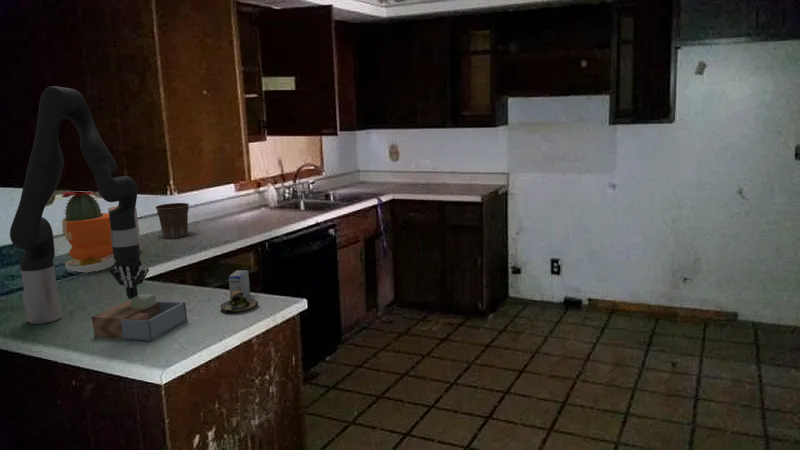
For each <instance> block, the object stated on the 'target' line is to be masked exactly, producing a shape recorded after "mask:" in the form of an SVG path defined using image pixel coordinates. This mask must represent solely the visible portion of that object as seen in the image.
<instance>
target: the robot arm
mask: <svg viewBox="0 0 800 450" xmlns="http://www.w3.org/2000/svg"><path fill="white" fill-rule="evenodd" d="M39 99H40V100H39V105H38V112H37V120H36V121H37V122H36V129H35V135H34V140H33V144H32V149H31V153H30V156H29V161H28V165H27V168H26V175H25V178H24V182H23V183H24V184H23V186H22V190H21V195H20V199H19V200H20V201H19V203H18V207H17V209H16V212H15V215H14V218H13V221H12V223H11V226H10V230H9V238H10V241H11V243H12V244H13V245H14V246H15V247H16V248H17V249H19V250H24V255H23V256H22V258H21V259H20V261H19V266H20V267H19V268H20V273H21V279H22V287H23V292H22V294H21V295H22V302H23V307H24V313H25V320H26V322H28V323H29V324H32V325H42V324H47V323H52V322H55V321H57V320H59V319H61V318H62V311H61V306H60V305H61V303H60V296H59V292H58V285H57V278H56V272H55V263H54V259H55V256H56V255H55V254H56V251H55V249H56V248H55V241H54V233H53V228H52V225H51V223H50V222H49V221H48V219H46V218H45V217H43V214H44V210H45V208H46V206H47V205H48V203H49V201H50V199H51V198H52V196H53V195H54V193H55V191H56V190H57V187H58V186H59V184H60V182H61V181H60V180H61V178H62V173H63V169H64V164H65V160H64V159H65V158H64V155H63V151H62V148H61V145H60V141H59V128H60V124H61V121H62V120H63V119H66V120H68V119H69V121H70V122H71V123H72V124H73V125H74V126H75V128H76V130H77V132H78V136H79V144H80V145H79V146H80V151H81V154H82V157H83V158H84V161H85V162H86V164H87V165H88V167H89V168H90V170H91V171H92V173H93V177H94V180H95V184H96V188H97V190H98V194H99V196H100V197H101V198H102V199H103V200H104V201H105V202H107V203H117V202H118V204H117V206H118V207H117V206H116V207H117V208H116V209H114V210H112V211H111V212H110V213H109V212H108V213H109V219H110V227H111V241H112V249H113V254H112V255H113V259H114V267H113V268H110V269H109V273H110V275H112V277H113V278H114V279H115V281H116V282H117V283H118V284H119V285H120V286H124V287H125V290H126V291H125V292H126V297H127V298H128V300H131V298H133V297H135V296H138V295H139V294H138V289H137V288H138V286H139V285H142V284H143V282H144V281H145V278H146V277H147V276H148V273H149V272H150V270H149V268H146V267H144V266H142V265H143V263H142V262H141V260H140V259H141V252H140V247H139V239H138V233H137V229H136V223H135V216H134V213H135V208H136V207H137V199H138V186H137V183H136V181H135V180H134V179H133V178H132V177H131V176H129V175H128V176H127V175H123V176H115V177H113V176H112V174H113V173H114V172H115V171H117V168H118V165H117V161H116V159H115V158H114V156H113V155H112V153H111V152H110V150H109V149H108V146H106V144H105V142H104V141H103V138H102V137H101V135H100V133H99V130H98V128H97V126H96V123H95V121H94V118H93V117H92V114H91V111H90V109H89V107H88V104H87V102H86V100H85V98H84V95H82V93H81V92H79V90H77V89H74V88H70V87H64V86H63V87H62V86H56V85H51V86H47V87H46V88H45V89H44V90H43V91H42V93H41V96H40V98H39Z"/></svg>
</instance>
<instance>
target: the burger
mask: <svg viewBox="0 0 800 450" xmlns="http://www.w3.org/2000/svg"><path fill="white" fill-rule="evenodd" d="M234 290H235V289H234ZM242 296H243V292H242V291H234V292H233V293H232V294H231V296H230V295H229V300H228V301H225V302H223V303H221V305H220V313H221V314H225V315H227V314H228V312H237V313H238V312H242V311H246V310H250V309H252V308H254V307H255V306H258V305H259V302H258V300H255V299H251V298H247V297H246V298H245V297H242Z"/></svg>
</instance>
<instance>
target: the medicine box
mask: <svg viewBox="0 0 800 450" xmlns="http://www.w3.org/2000/svg"><path fill="white" fill-rule="evenodd" d="M249 274H250V273H249V270H245V269H244V270H242V269H241V270H237V269H236V270H235V271H234V272H232V273H231V274H230V275H229V276H228V284H229V285H228V286H229V287H228V288H229V297H230V296H231V294H232V293H233V292H234V291H242V292H243V296H242V297H245V298H246V299H247V297H248V296H249V295H250V294H251V289H250V287H251V286H250V277H249ZM234 289H235V290H234Z"/></svg>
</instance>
